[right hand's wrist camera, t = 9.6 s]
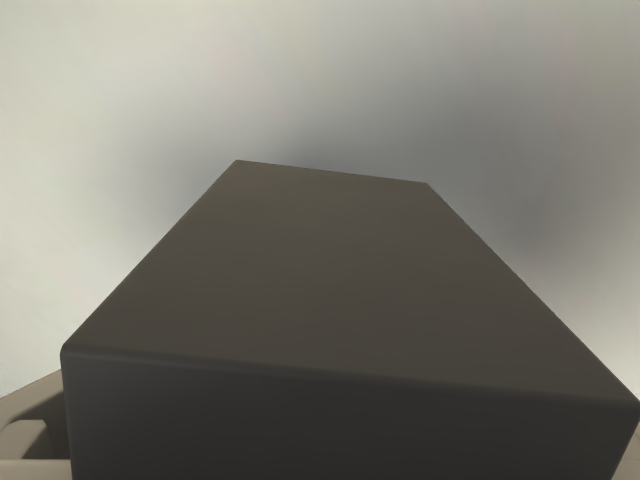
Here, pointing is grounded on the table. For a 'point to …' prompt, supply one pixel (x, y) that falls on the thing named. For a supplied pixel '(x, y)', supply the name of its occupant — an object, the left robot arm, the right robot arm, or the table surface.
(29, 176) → the table surface
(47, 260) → the table surface
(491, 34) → the table surface
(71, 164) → the table surface
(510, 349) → the block
